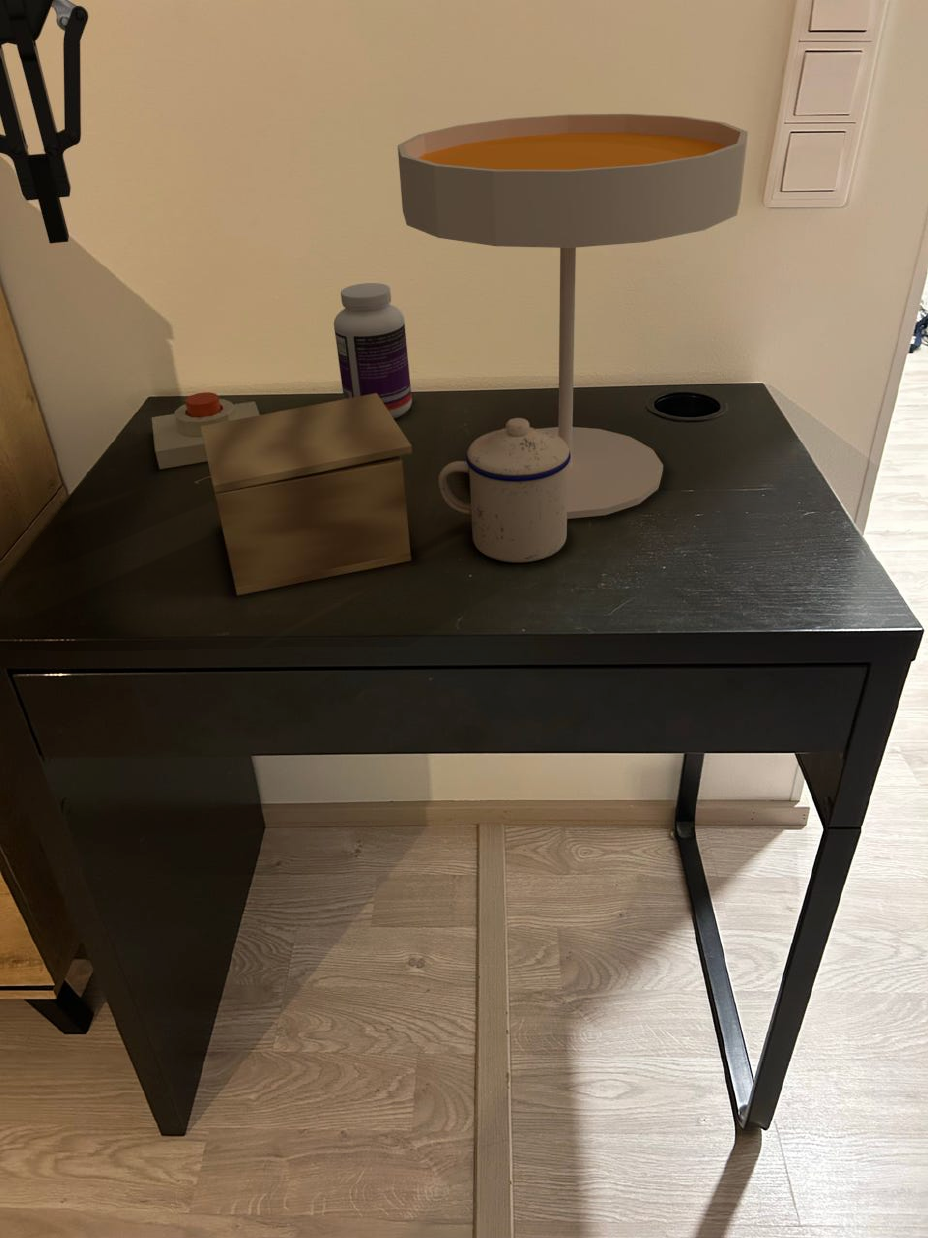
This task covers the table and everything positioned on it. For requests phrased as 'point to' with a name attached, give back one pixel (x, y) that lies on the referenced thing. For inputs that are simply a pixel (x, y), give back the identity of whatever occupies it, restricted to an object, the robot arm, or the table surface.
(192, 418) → the button box
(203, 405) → the button
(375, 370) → the pill bottle
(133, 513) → the table surface
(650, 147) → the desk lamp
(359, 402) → the wooden box lid
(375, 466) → the lid box
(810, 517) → the table surface
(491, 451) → the teacup with lid
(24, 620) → the table surface
